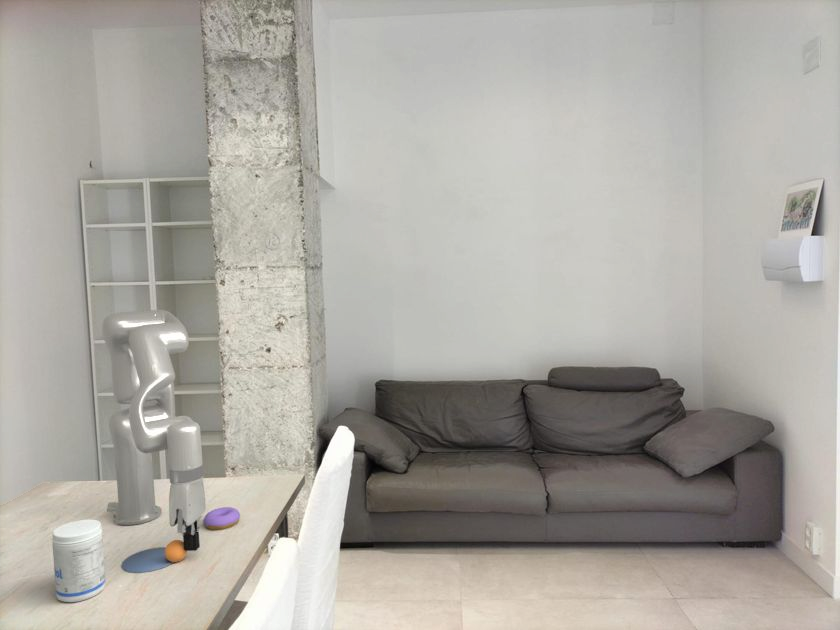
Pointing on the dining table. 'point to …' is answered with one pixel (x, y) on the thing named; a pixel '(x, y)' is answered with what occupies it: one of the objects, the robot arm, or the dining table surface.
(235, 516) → the donut
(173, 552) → the ball
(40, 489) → the dining table surface
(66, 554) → the supplement tub
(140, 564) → the disc
